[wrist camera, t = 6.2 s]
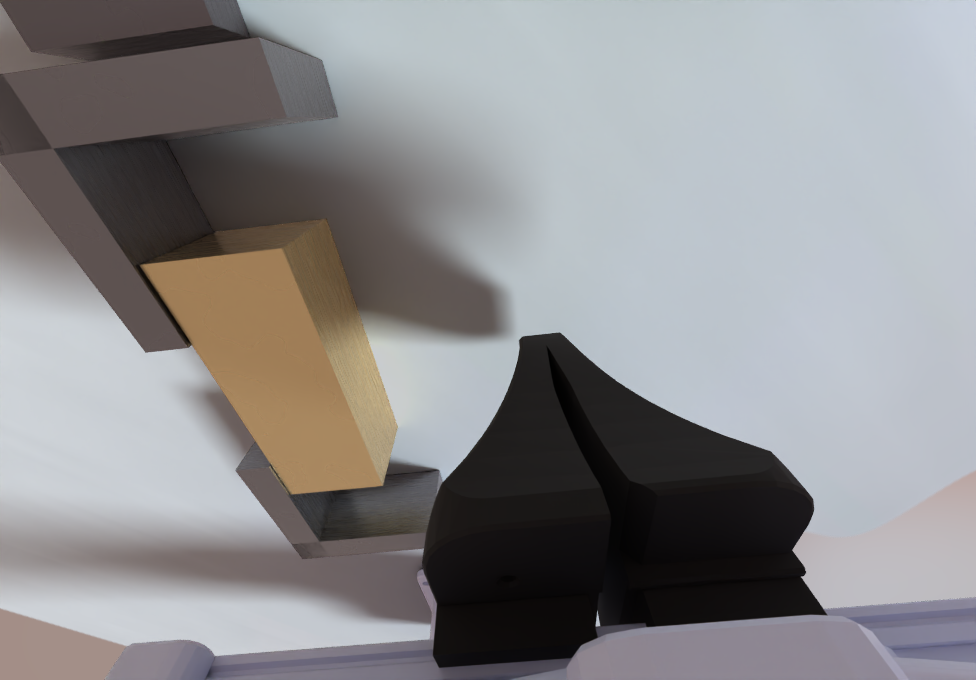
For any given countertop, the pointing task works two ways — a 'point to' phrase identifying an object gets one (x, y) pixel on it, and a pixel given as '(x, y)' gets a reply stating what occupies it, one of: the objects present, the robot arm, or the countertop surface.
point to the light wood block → (285, 349)
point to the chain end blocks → (172, 191)
